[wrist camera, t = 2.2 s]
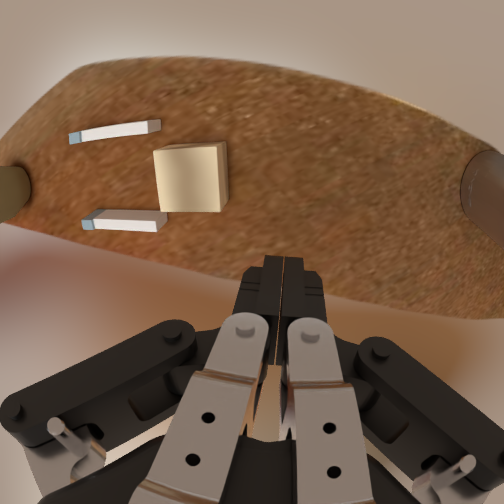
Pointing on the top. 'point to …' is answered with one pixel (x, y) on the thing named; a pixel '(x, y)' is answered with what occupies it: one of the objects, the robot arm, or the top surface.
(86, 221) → the corridor
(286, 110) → the top surface
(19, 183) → the squeeze bottle
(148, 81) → the top surface
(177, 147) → the maple block
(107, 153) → the top surface
